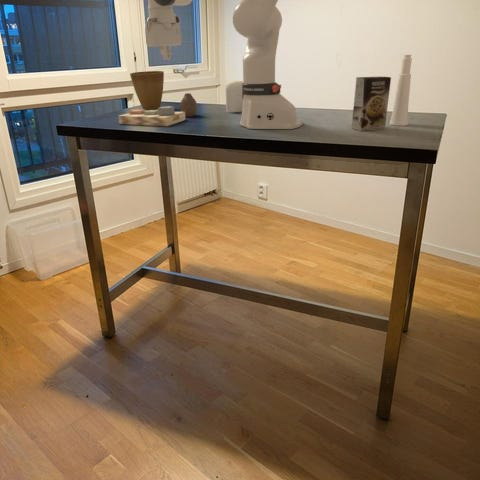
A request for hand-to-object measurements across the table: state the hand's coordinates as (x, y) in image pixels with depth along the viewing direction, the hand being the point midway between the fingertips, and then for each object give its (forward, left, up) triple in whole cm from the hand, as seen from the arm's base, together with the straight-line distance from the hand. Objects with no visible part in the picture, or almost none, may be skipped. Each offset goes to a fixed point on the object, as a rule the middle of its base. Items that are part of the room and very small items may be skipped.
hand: (166, 59), depth 160 cm
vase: (-3, -9, -22) cm, 24 cm away
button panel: (+4, +7, -22) cm, 23 cm away
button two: (-2, +7, -19) cm, 21 cm away
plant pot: (+24, -22, -22) cm, 39 cm away
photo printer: (-19, -23, -22) cm, 37 cm away
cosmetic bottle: (-85, -8, -22) cm, 88 cm away
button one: (+11, +7, -21) cm, 25 cm away
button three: (+4, +7, -21) cm, 22 cm away
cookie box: (-76, +2, -22) cm, 79 cm away
